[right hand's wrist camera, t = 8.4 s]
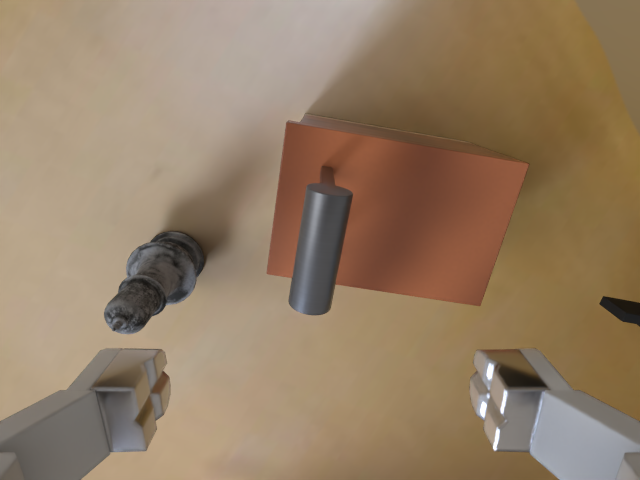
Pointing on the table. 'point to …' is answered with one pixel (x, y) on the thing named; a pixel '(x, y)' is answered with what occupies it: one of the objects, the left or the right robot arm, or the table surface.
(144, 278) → the grey chess piece
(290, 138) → the lid
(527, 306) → the table surface
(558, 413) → the right robot arm
